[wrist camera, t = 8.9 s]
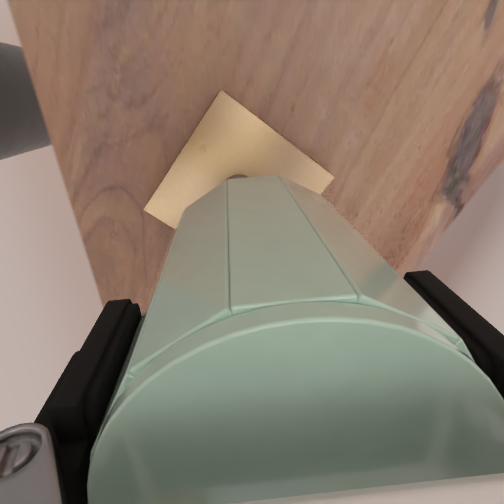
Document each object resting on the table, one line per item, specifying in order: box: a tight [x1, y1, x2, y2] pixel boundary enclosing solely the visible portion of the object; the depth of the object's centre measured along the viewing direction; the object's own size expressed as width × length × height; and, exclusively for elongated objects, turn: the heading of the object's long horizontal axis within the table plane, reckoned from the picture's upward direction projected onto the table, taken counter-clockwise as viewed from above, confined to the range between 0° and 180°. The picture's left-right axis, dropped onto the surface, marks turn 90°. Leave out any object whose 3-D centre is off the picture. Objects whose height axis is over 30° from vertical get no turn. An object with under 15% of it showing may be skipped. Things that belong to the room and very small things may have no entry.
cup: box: [87, 175, 504, 504], centre depth 11 cm, size 7×7×10 cm
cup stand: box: [144, 90, 334, 229], centre depth 24 cm, size 10×10×13 cm
